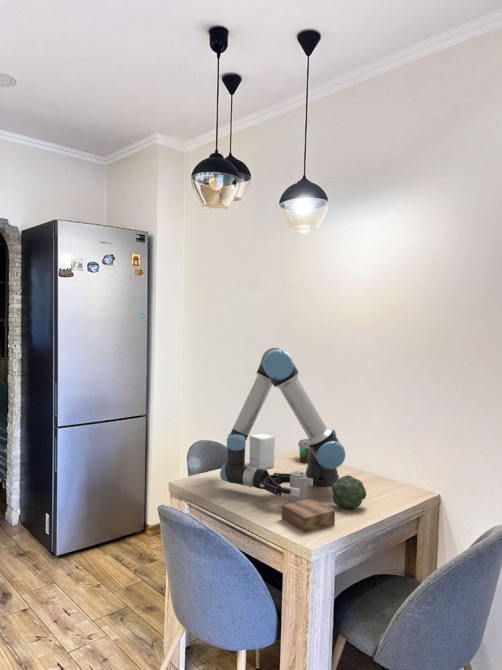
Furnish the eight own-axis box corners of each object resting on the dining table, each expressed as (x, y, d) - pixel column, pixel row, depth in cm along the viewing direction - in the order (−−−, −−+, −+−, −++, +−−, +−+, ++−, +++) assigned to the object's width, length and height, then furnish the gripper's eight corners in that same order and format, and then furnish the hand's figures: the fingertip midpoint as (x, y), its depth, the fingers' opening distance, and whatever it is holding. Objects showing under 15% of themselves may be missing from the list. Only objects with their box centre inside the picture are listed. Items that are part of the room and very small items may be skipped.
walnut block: (310, 512, 176) (311, 498, 175) (334, 525, 165) (334, 510, 164) (281, 519, 169) (282, 505, 169) (304, 533, 158) (305, 518, 158)
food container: (296, 457, 248) (297, 438, 247) (308, 457, 247) (309, 438, 247) (298, 464, 235) (298, 444, 235) (311, 464, 235) (311, 444, 235)
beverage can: (305, 508, 179) (306, 476, 179) (288, 506, 181) (289, 474, 180) (306, 502, 186) (307, 471, 185) (290, 500, 187) (291, 469, 187)
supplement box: (274, 467, 229) (275, 436, 229) (259, 470, 224) (260, 438, 224) (263, 463, 237) (264, 432, 236) (248, 465, 232) (249, 435, 231)
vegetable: (368, 494, 189) (373, 489, 176) (347, 519, 186) (351, 516, 172) (344, 472, 193) (347, 466, 180) (323, 497, 190) (325, 492, 177)
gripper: (270, 478, 203) (317, 487, 192) (240, 496, 181) (292, 508, 170) (270, 461, 202) (317, 469, 192) (241, 477, 180) (293, 487, 170)
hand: (306, 487), depth 181 cm, fingers open, 13 cm apart
